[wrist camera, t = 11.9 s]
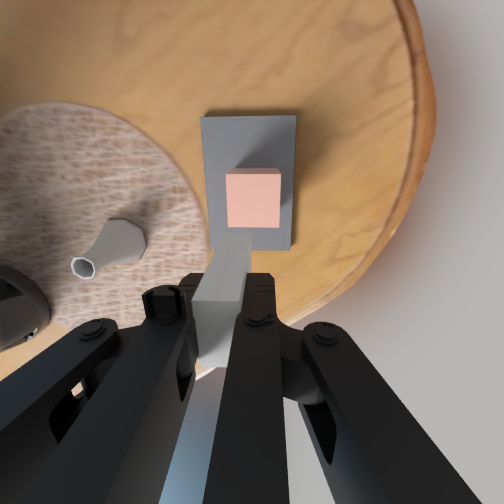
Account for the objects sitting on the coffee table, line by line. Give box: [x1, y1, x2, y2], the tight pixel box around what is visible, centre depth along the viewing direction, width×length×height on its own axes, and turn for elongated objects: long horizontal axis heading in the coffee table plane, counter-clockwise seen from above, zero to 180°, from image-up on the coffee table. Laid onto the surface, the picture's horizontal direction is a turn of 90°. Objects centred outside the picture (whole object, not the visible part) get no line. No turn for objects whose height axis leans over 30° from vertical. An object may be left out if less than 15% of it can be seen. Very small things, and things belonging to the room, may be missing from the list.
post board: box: [200, 115, 297, 251], centre depth 34 cm, size 12×18×6 cm, turn 1°
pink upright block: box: [226, 168, 281, 228], centre depth 32 cm, size 6×6×8 cm
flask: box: [70, 219, 146, 279], centre depth 36 cm, size 7×7×10 cm
